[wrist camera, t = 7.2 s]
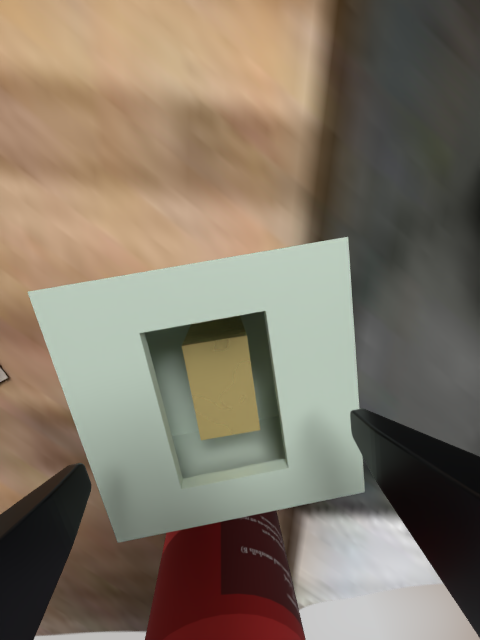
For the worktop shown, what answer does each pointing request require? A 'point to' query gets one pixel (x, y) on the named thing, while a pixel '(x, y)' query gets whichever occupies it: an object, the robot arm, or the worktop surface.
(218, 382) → the yellow block
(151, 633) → the canned food
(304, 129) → the worktop surface
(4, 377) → the condiment
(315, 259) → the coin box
